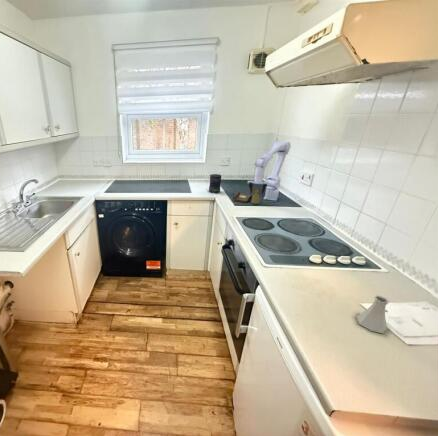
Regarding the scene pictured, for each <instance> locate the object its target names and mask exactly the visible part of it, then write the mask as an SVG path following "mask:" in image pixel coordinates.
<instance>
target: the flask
mask: <svg viewBox="0 0 438 436" xmlns="http://www.w3.org/2000/svg"><path fill="white" fill-rule="evenodd" d="M373 299H374V301H373V303H372V304H371V305H370V306H369V307H368V308H367V309H365V310H363V312H361V313H360V314H359V315H358V316H356V320H357V322H358V325H360V326H362V327H364V328H365V329H367V330H368V331H371V332H375V333H380V334H384V333H385V332H386V331H387V330H388V329H387V328H388V327H387V322H386V321H387V320H386V306H387V305H388V304H389V303H390V300H389V299H388V298H386V297H384V296H381V295H377V294H376V295H375V296H374V298H373Z"/></svg>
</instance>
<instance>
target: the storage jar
mask: <svg viewBox="0 0 438 436" xmlns="http://www.w3.org/2000/svg"><path fill="white" fill-rule="evenodd" d="M221 182H222V174H219V173H212V174H210V175H209V186H208V193H210V194H220V193H221Z"/></svg>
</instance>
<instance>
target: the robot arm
mask: <svg viewBox="0 0 438 436" xmlns="http://www.w3.org/2000/svg"><path fill="white" fill-rule="evenodd" d="M290 149H291V142H290V141H279V140H276V141H275V142H274V143H273V147H272V148H271V149H270V150H269V152H265V154H264V155H262V157H261V158H258V159H256V160H255V163H254V166H255V173H254V174H255V175H254V180H247V184H248V187H249V191H250V192H249V193H250V194H253V189H254V188H253V187H254V185H262V190H261V193H260V194H261V196H262V195H263V194H264V192H265V194H264V197H263V200H266V201H267V200H268V201H275V202H277V201H278V198H279V193H280V185H281V181H282V179H281V178H280V176H279V175H280V173H281V170H282V167H283V164H284V163H285V159H286V156H287V155H288V154H289V152H290ZM275 154H277V158H276V161H275V162H274V166H273V168H272V172H271V174H270V175H268V176H267V177H266V178H265V180H264V176H265V170H266V168H267V166H268V164H269V162H270V161H271V160H272V159H273V157H274V155H275Z"/></svg>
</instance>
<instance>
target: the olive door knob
mask: <svg viewBox="0 0 438 436" xmlns="http://www.w3.org/2000/svg"><path fill="white" fill-rule="evenodd" d="M260 194H261V189H260V188H252V196H251V197H252V198H251V201H250V204H255V205H259V204H260V201H261V200H260Z"/></svg>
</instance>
